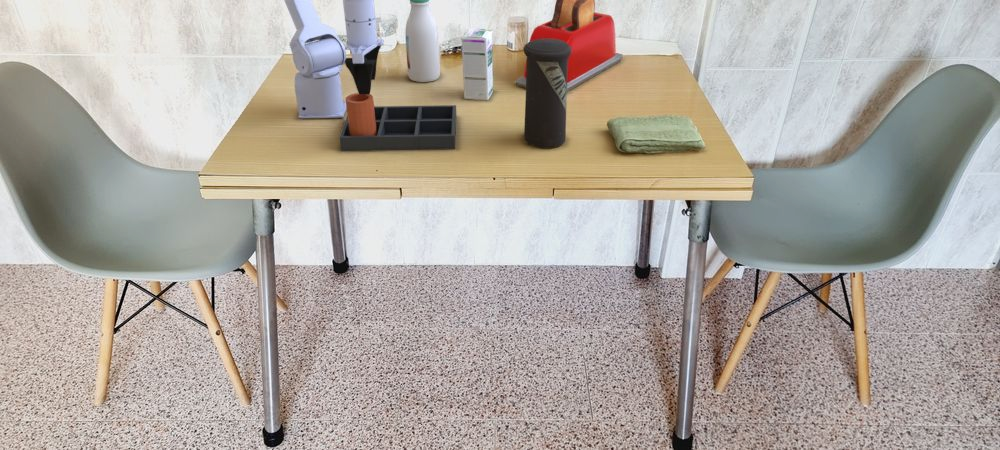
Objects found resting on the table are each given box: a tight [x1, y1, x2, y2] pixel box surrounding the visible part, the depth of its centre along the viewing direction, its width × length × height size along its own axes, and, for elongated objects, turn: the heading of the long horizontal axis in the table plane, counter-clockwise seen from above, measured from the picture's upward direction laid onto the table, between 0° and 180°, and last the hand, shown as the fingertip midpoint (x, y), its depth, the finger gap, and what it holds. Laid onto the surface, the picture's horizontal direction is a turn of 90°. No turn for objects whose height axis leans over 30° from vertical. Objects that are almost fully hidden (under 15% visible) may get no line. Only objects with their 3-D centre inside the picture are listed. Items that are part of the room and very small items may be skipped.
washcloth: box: [606, 114, 706, 155], centre depth 145 cm, size 13×18×3 cm
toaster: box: [514, 0, 624, 93], centre depth 173 cm, size 32×13×19 cm, turn 144°
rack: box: [338, 104, 457, 152], centre depth 148 cm, size 22×15×3 cm
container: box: [522, 39, 572, 149], centre depth 141 cm, size 9×9×20 cm
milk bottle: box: [404, 0, 441, 83], centre depth 170 cm, size 8×8×20 cm
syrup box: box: [461, 28, 494, 101], centre depth 162 cm, size 6×6×14 cm
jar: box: [345, 92, 377, 136], centre depth 143 cm, size 5×5×9 cm
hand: (367, 86), depth 144 cm, fingers open, 7 cm apart
